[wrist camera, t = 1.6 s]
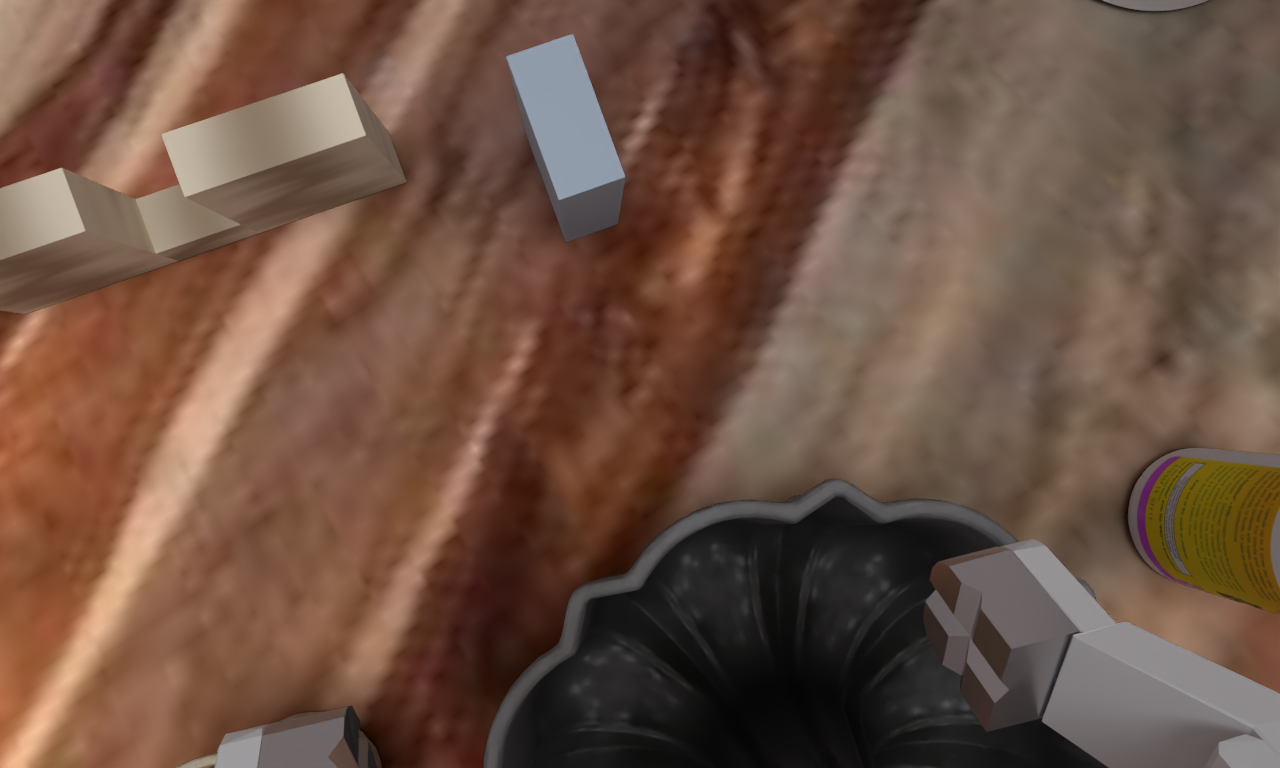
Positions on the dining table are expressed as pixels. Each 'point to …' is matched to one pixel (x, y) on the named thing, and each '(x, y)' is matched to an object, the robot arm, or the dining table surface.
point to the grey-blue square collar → (568, 136)
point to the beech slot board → (195, 194)
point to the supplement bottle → (1212, 522)
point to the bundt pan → (769, 649)
